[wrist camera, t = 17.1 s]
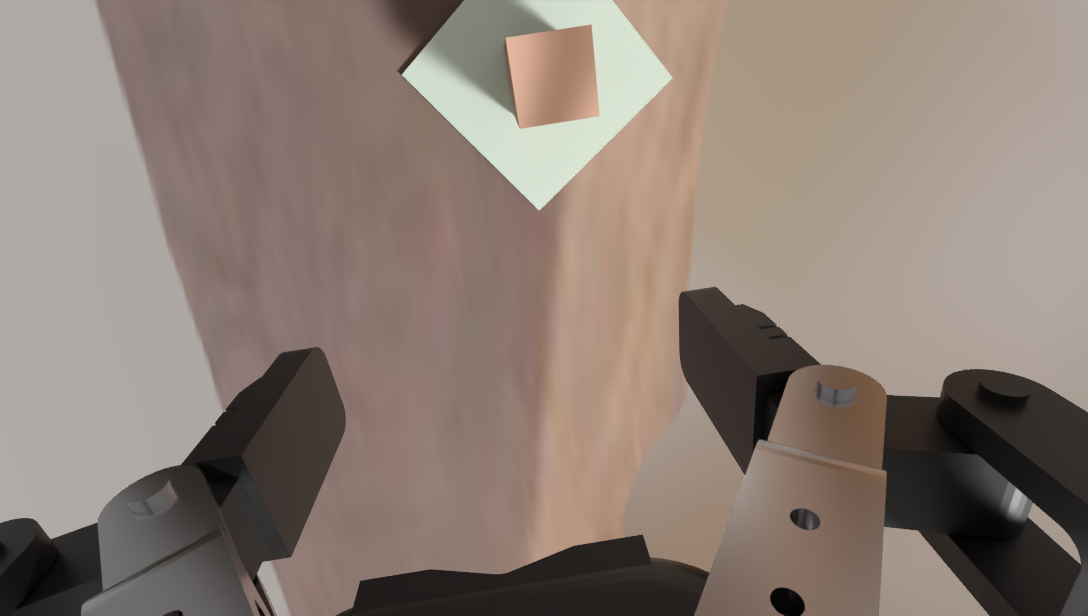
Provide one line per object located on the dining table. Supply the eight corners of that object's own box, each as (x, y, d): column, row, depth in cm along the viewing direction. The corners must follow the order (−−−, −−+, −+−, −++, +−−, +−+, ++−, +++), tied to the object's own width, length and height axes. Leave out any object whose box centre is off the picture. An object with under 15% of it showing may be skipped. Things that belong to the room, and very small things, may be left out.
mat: (402, 74, 34) (401, 74, 34) (540, -90, 31) (541, -92, 31) (538, 209, 39) (539, 210, 38) (670, 77, 36) (672, 77, 35)
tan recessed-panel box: (513, 115, 35) (519, 128, 26) (503, 47, 34) (505, 37, 24) (573, 105, 35) (599, 116, 26) (566, 37, 34) (591, 24, 25)
